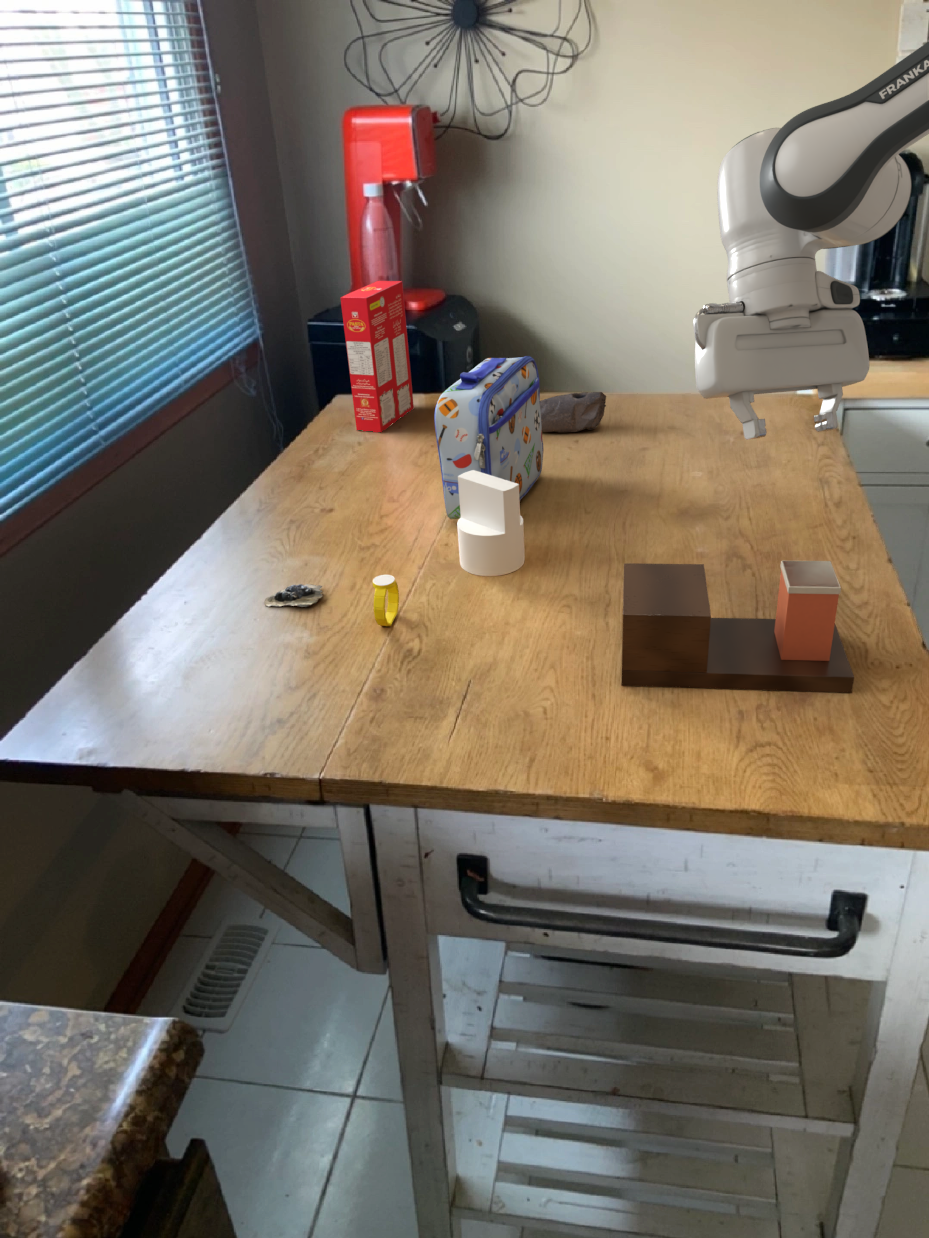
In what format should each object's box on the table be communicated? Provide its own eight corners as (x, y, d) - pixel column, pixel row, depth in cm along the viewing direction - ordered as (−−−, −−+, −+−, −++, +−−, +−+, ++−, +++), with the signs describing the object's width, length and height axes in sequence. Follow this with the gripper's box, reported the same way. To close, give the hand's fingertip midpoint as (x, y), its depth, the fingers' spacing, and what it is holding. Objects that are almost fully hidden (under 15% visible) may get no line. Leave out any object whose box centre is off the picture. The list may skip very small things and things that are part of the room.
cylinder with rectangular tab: (538, 558, 134) (535, 477, 128) (493, 582, 129) (488, 499, 123) (491, 541, 140) (487, 463, 134) (446, 563, 135) (440, 483, 129)
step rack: (831, 634, 112) (841, 565, 108) (851, 692, 102) (863, 619, 98) (622, 630, 116) (623, 563, 112) (621, 685, 106) (622, 614, 102)
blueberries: (324, 608, 126) (322, 595, 125) (262, 615, 125) (259, 602, 124) (323, 584, 132) (321, 572, 131) (264, 591, 131) (262, 579, 130)
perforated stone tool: (525, 437, 178) (524, 400, 174) (525, 428, 182) (524, 392, 179) (607, 434, 177) (608, 396, 173) (605, 424, 181) (605, 388, 178)
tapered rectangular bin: (820, 632, 109) (830, 560, 105) (830, 661, 104) (841, 587, 100) (773, 631, 110) (780, 560, 106) (780, 660, 105) (788, 587, 100)
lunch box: (501, 540, 140) (493, 391, 129) (434, 534, 143) (421, 388, 132) (550, 471, 162) (547, 339, 151) (491, 468, 166) (485, 338, 155)
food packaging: (390, 407, 199) (377, 280, 186) (413, 409, 197) (402, 281, 185) (356, 430, 187) (340, 297, 175) (380, 432, 185) (366, 298, 173)
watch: (385, 608, 125) (380, 567, 122) (406, 610, 124) (401, 568, 121) (370, 632, 120) (365, 589, 117) (392, 633, 119) (387, 591, 116)
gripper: (711, 294, 93) (730, 437, 94) (871, 288, 101) (887, 420, 102) (673, 314, 99) (691, 448, 100) (827, 306, 107) (843, 431, 108)
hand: (792, 434), depth 101 cm, fingers open, 8 cm apart
